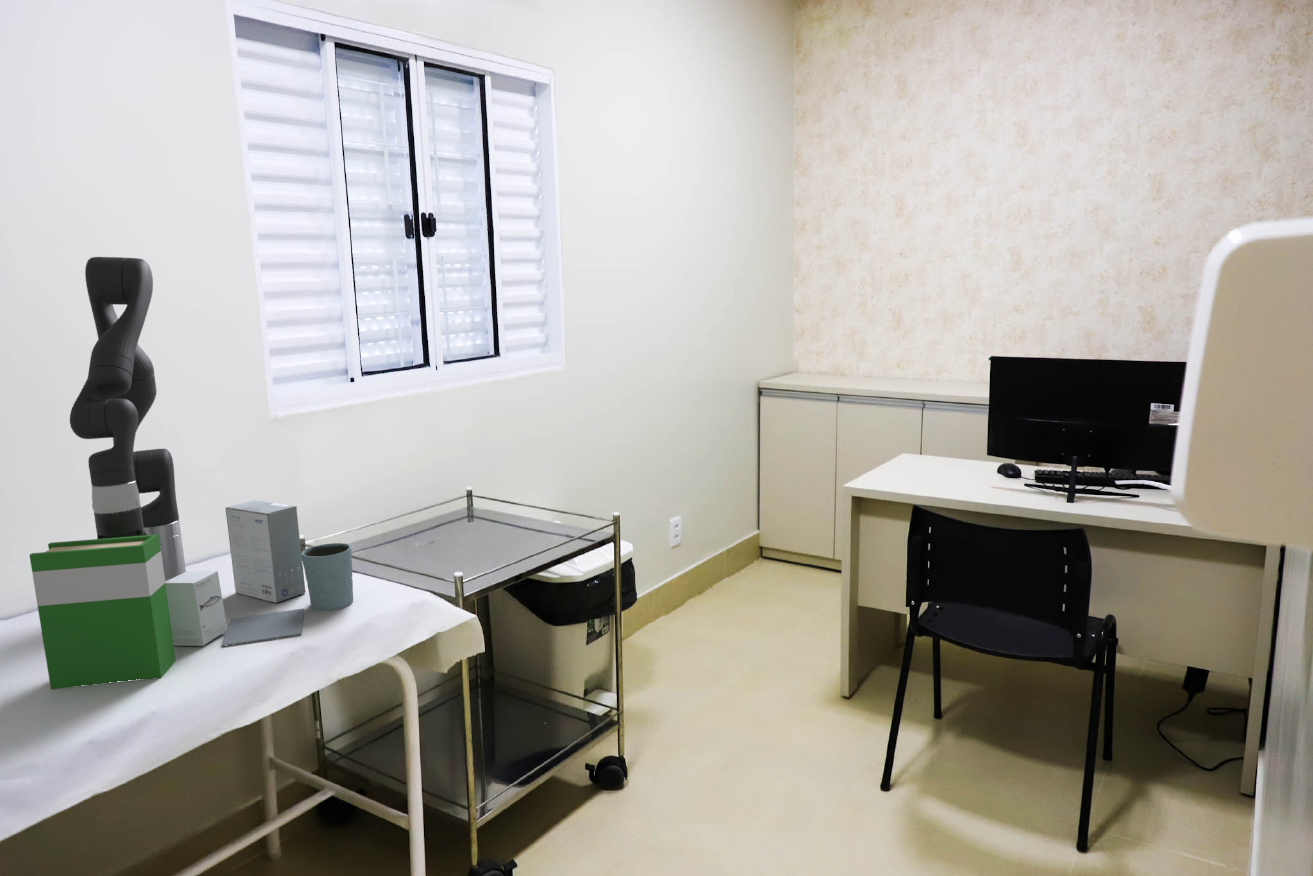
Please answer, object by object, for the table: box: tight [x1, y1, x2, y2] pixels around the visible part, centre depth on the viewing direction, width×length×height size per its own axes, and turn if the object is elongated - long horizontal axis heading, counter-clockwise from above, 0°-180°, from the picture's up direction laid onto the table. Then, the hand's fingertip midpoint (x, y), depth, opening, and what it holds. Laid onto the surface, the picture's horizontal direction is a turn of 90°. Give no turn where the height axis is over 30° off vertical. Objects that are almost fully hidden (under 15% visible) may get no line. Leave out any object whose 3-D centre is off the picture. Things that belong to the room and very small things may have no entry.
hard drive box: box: [225, 500, 307, 603], centre depth 200 cm, size 16×8×20 cm, turn 58°
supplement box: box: [165, 570, 228, 647], centre depth 174 cm, size 7×7×13 cm
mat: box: [221, 607, 305, 647], centre depth 181 cm, size 15×14×1 cm
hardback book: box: [29, 534, 177, 690], centre depth 158 cm, size 18×7×24 cm, turn 100°
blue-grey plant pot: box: [301, 542, 354, 611], centre depth 192 cm, size 10×10×12 cm
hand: (129, 596), depth 170 cm, fingers closed
